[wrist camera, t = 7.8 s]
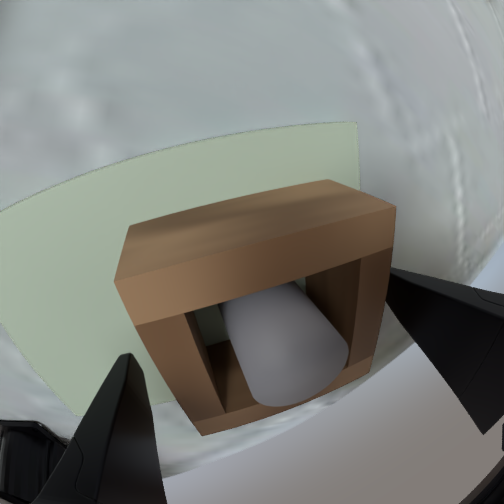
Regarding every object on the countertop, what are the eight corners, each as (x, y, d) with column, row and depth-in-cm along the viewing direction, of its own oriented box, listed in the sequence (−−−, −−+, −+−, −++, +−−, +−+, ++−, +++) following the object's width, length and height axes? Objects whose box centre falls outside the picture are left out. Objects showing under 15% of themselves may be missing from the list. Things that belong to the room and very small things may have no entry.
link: (187, 370, 11) (201, 435, 8) (129, 225, 8) (113, 281, 5) (328, 324, 13) (369, 372, 10) (328, 178, 10) (396, 206, 7)
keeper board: (77, 405, 11) (73, 485, 7) (-32, 229, 6) (-105, 297, 2) (343, 330, 15) (399, 395, 10) (344, 121, 10) (457, 135, 5)
